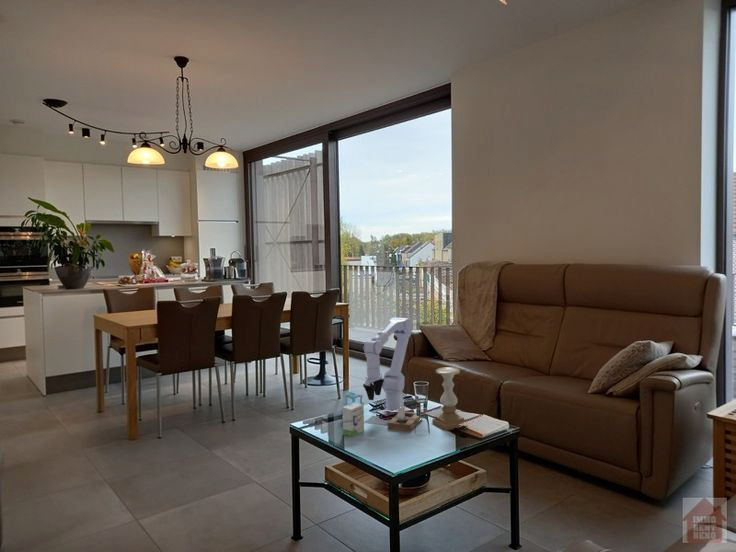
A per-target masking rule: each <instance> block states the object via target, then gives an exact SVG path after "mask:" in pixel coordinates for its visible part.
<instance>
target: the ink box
mask: <svg viewBox="0 0 736 552" xmlns="http://www.w3.org/2000/svg"><path fill="white" fill-rule="evenodd" d="M364 412H365V411H364V405H363V404H360V403H352V404H349V405H347V406H345V405H344V406H343V407H342V417H343V418H342V433H343V436H345V437H346V436H347V437H351V438H353V437H355V436H357V435H358V434H359V433H362V432H363V431H365V423H364V422H365V416H364V414H365V413H364Z"/></svg>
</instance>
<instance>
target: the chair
mask: <svg viewBox="0 0 736 552" xmlns="http://www.w3.org/2000/svg"><path fill="white" fill-rule="evenodd" d="M357 398H360V399H359V401H358V400H356V399H357ZM348 399H350V401H348ZM362 399H363V395H362V394H358V393H354V392H351V391H350V392H347V393H346V394H344V400H345V402H343V406H344V407H345V406H347V405H349V404H352V403H360V404H363V405H364V404H365V403H364V402H363V400H362ZM341 418H342V419H343V416H341Z"/></svg>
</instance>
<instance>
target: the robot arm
mask: <svg viewBox="0 0 736 552" xmlns="http://www.w3.org/2000/svg"><path fill="white" fill-rule="evenodd" d="M413 328H414V325H413V321H412V319H411V318H410V317H408V318H407V317H394V316H393V317H391V318H390V319H389V320H388V325H387V326H386V327H385V328H384V330H383V331H381V330H380V331H378V332H377V333H376V335H374V336H373V337H372V338H371V339H369V340H366V341H365V343H364V345H363V351H364V354H365V355H364V357H366V375H365V376H364V379H365V380H364V383H363V384H362V385H363V386H362V387H363V388H364V389H365V392H366V394H367V399H368V400H369V401H374V399H375V396H381V392H382V390H383V392H384V393H385V409H387V410H397V409H398V408H397V407H398V406H405V405H404V392H403V391H404V389H405V379H406V378H405V376H404V374H403V373H402V369H403V365H404V361H405V356H406V352H407V348H408V347H407V346H408V343H409V338H411V336H412V332H413ZM392 335H394V336H395V337H396V338H397V340H396V343H395V348H394V352H393V357H392V361H391V364H390V369H389V370H387V371H386V372H385V373H384V374H383V373H382V372H381V361H380V354H381V353H382V349H383V347H384V345H385V344H386V343H388V341H389V338H390V336H392Z"/></svg>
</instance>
